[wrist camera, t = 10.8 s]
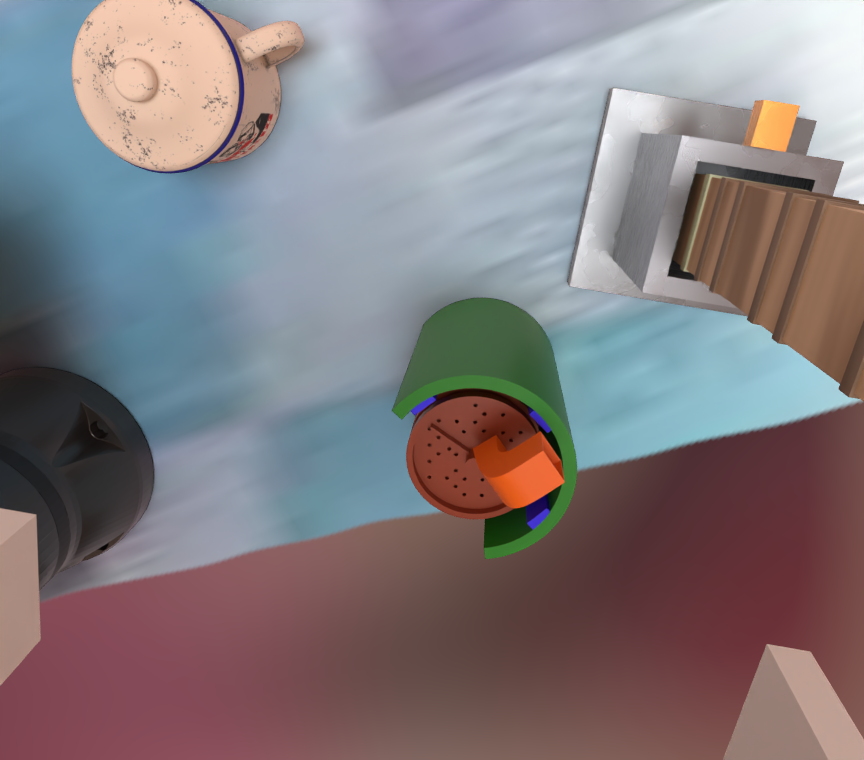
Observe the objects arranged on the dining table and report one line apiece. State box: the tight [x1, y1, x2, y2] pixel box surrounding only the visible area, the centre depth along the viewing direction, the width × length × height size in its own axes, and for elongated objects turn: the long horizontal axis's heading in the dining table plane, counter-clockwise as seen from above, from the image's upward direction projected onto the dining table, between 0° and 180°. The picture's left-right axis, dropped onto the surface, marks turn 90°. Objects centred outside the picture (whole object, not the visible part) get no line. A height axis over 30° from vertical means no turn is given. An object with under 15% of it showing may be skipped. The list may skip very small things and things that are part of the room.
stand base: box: [567, 88, 844, 316], centre depth 41 cm, size 12×12×12 cm
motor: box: [392, 298, 577, 559], centre depth 41 cm, size 10×9×20 cm
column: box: [673, 173, 864, 401], centre depth 27 cm, size 5×5×23 cm
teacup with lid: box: [72, 0, 304, 173], centre depth 41 cm, size 12×9×12 cm
